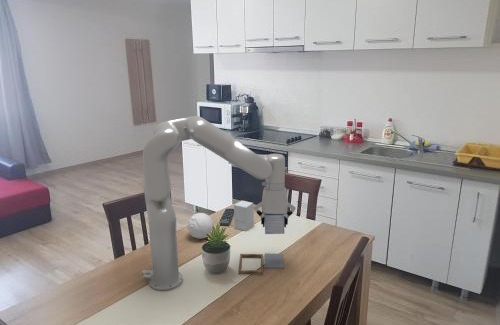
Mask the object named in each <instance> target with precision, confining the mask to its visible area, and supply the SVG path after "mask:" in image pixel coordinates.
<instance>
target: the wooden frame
mask: <svg viewBox="0 0 500 325" xmlns="http://www.w3.org/2000/svg"><path fill="white" fill-rule="evenodd" d="M263 257H264V254H263V253H240V256H239V260H238V261H239V262H238V268H237V269H238V270H237V272H238V273H237V274H238V275H240V276H241V275H243V276H244V275H245V276H247V275H249V276H253V275H254V276H262V275H264V272H263V269H264V258H263ZM243 259H260V270H259V269H258V270H256V269H255V270H253V269H252V270H250V269H249V270H248V269H242V263H243V261H242V260H243Z"/></svg>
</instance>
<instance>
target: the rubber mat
mask: <svg viewBox="0 0 500 325" xmlns="http://www.w3.org/2000/svg"><path fill="white" fill-rule="evenodd" d="M283 257H284V256H283V253H270V252H269V253H264V269H273V270H275V269H277V270H279V269H284V268H285V267H284V258H283Z"/></svg>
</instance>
